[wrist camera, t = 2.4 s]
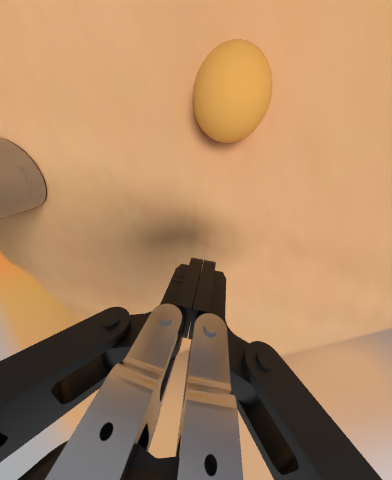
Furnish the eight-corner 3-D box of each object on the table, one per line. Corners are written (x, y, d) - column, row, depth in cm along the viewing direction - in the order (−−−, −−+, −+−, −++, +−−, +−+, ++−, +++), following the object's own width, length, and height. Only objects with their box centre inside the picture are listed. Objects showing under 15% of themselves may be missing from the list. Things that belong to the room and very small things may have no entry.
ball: (195, 139, 17) (182, 137, 12) (203, 59, 14) (189, 11, 9) (252, 146, 17) (264, 147, 12) (273, 65, 14) (300, 17, 9)
